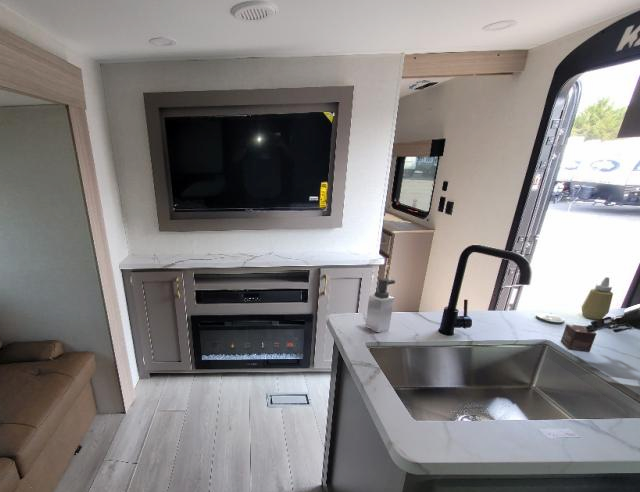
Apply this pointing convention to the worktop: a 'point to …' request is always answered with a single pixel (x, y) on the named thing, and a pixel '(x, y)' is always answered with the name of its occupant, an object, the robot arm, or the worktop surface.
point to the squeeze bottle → (598, 301)
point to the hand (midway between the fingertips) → (600, 329)
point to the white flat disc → (550, 318)
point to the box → (577, 337)
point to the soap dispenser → (380, 307)
